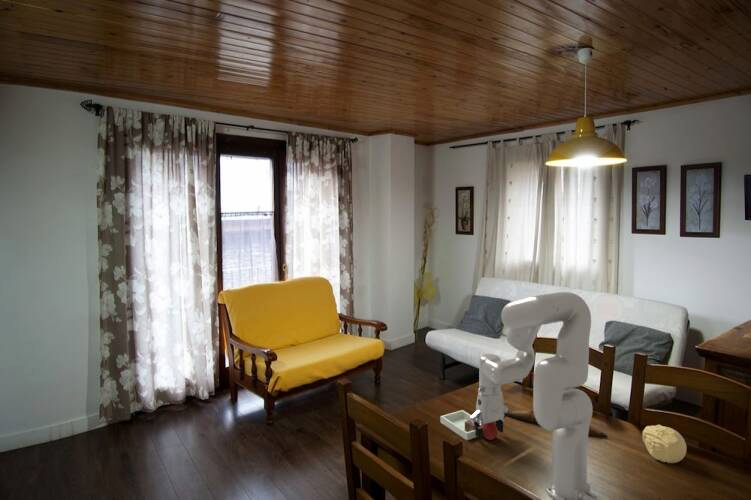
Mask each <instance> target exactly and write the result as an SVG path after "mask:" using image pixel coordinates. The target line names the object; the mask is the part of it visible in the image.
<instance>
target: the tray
mask: <svg viewBox="0 0 751 500" xmlns="http://www.w3.org/2000/svg"><path fill="white" fill-rule="evenodd" d="M472 415H473V414H470V413H469V412H467V411H465V410H464V409H462V410H457V411H454V412H451V413H447V414H444V415H440V417H439V418H440V423H441V424H442V425H443V426H445V427H447V428H448V429H450V430H451V431H453V432H454V433H456V434H457V435H458V436H460V437H461V438H463V439H464V440H466V441H469V440H472V439H474V438H478V437H477V436H476V430H472V431H469V432H466V431H465V421H468V420H470V417H471V416H472ZM476 420H477V418H476ZM479 422H481V421H479Z"/></svg>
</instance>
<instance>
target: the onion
mask: <svg viewBox="0 0 751 500" xmlns="http://www.w3.org/2000/svg"><path fill="white" fill-rule="evenodd" d="M482 429H483V438H485V439H486V440H487V441H492V440H494V439H495V438H497V435H498V433H499V431H498V430H497V427H496V423H494V422H491V423H487V424H485V423H484V424H483V426H482Z"/></svg>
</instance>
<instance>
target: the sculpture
mask: <svg viewBox="0 0 751 500" xmlns="http://www.w3.org/2000/svg"><path fill="white" fill-rule="evenodd" d="M642 442H643V443H644V445H645V447H646V450H647V452H648V453H649V455H650V456H651V457H653V458H654V459H655V460H657V461H659V460H660V461H659V462H662V463H665V462H667V463H666V464H676V463H678V462H680V461H681V462H682V460H683V459H684V458H685V456H686V454H687V444H686V441H685V438H684V437H683V435H681V433H679V432H678V431H677V430H675V429H673V428H671V427H668V426H663V425H662V424H656V425H647V426H646V427H645V428H644V429H643V430H642Z"/></svg>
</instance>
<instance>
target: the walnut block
mask: <svg viewBox="0 0 751 500" xmlns="http://www.w3.org/2000/svg"><path fill="white" fill-rule="evenodd" d="M478 424H480V422H479V423H478ZM472 430H476V426H474V425H473V424H472V422H471V419H470V420H468V421H465V431H466V432H469V431H472Z"/></svg>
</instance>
